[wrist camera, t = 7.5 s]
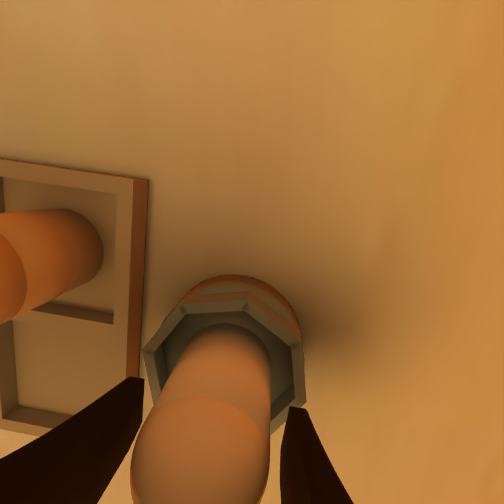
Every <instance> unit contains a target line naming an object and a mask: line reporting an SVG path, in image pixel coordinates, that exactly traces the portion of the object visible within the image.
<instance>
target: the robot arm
mask: <svg viewBox="0 0 504 504" xmlns="http://www.w3.org/2000/svg"><path fill="white" fill-rule="evenodd" d="M143 396H144V379H142V378H137V377H131V376H129V377H128V378H126V379H125V380H123V381H122V382H121V383H119V384H118V385H116V386H115V387H114V388H112V389H111V390H109V391H108V392H107V393H105V394H104V395H102V396H101V397H100V398H98V399H97V400H95V401H94V402H93V403H91V404H90V405H88V406H87V407H85V408H84V409H82V410H81V411H79V412H78V413H77V414H75V415H74V416H72V417H71V418H69V419H68V420H66V421H64V422H63V423H61V424H60V425H58V426H57V427H55V428H53V429H52V430H50V431H49V432H47V433H46V434H44V435H42V436H41V437H39V438H37V439H36V440H34V441H32V442H30V443H29V444H27V445H25V446H23V447H21V448H20V449H18V450H16V451H14V452H12V453H11V454H9V455H7V456H5V457H3V458H1V459H0V504H97V503H98V501H99V499H100V498H101V496H102V494H103V493H104V491H105V489H106V488H107V486H108V484H109V483H110V481H111V479H112V478H113V476H114V474H115V473H116V471H117V469H118V468H119V466H120V464H121V463H122V461H123V459H124V458H125V456H126V454H127V452H128V451H129V449H130V447H131V444H132V442H133V440H134V438H135V436H136V434H137V432H138V429H139V427H140V425H141V423H142V414H143ZM280 490H281V504H354V503H353V502H352V500H351V498H350V497H349V495H348V493H347V491H346V490H345V488H344V486H343V484H342V483H341V481H340V479H339V477H338V475H337V473H336V472H335V470H334V468H333V466H332V464H331V462H330V460H329V458H328V456H327V454H326V452H325V450H324V448H323V446H322V444H321V442H320V439H319V437H318V435H317V433H316V431H315V428H314V426H313V424H312V421H311V419H310V417H309V414H308V412H307V410H306V409H303V408H298V407H293V406H289V411H288V416H287V421H286V425H285V430H284V435H283V440H282V445H281V455H280Z"/></svg>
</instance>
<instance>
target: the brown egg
mask: <svg viewBox="0 0 504 504" xmlns="http://www.w3.org/2000/svg"><path fill="white" fill-rule="evenodd" d="M103 257H104V250H103V244H102V241H101V238H100V236H99V234H98V232H97V230H96V229H95V227H94V226H93V225H92V224H91V222H90V221H89V220H87V219H86V218H85V217H84V216H82V215H81V214H79V213H77V212H75V211H72V210H69V209H63V208H54V209H43V210H31V211H20V212H8V213H0V324H3V323H5V322H7V321H9V320H11V319H13V318H15V317H17V316H19V315H21V314H23V313H25V312H28V311H30V310H32V309H34V308H36V307H38V306H40V305H42V304H44V303H46V302H48V301H50V300H52V299H54V298H56V297H58V296H60V295H62V294H64V293H66V292H68V291H70V290H72V289H74V288H76V287H78V286H80V285H82V284H84V283H87V282H88V281H90V280H91V279H93V278H94V277H95V276H96V275H97V273H98V272H99V270H100V268H101V266H102V263H103Z"/></svg>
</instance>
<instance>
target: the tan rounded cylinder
mask: <svg viewBox="0 0 504 504" xmlns="http://www.w3.org/2000/svg"><path fill="white" fill-rule="evenodd" d="M270 392H271V361H270V356H269V353H268V350H267V348H266V346H265V345H264V343H263V342H262V341H261V339H260V338H259V337H258V336H257V335H255V334H254V333H253V332H251V331H250V330H248V329H246V328H244V327H241V326H239V325H235V324H228V323H220V324H214V325H210V326H207V327H205V328H203V329H201V330H199V331H198V332H197V333H195V334H194V335H193V336H192V338H191V339H190V340H189V342H188V344H187V345H186V347H185V349H184V351H183V353H182V355H181V356H180V358H179V360H178V362H177V364H176V365H175V367H174V369H173V371H172V373H171V375H170V376H169V378H168V380H167V382H166V384H165V386H164V387H163V389H162V391H161V393H160V395H159V397H158V398H157V400H156V402H155V404H154V406H153V408H152V409H151V411H150V413H149V415H148V417H147V419H146V420H145V422H144V424H143V426H142V428H141V430H140V432H139V434H138V437H137V440H136V443H135V446H134V449H133V454H132V460H131V466H130V486H131V494H132V499H133V503H134V504H260V502H261V500H262V497H263V494H264V491H265V488H266V484H267V480H268V474H269V465H270Z"/></svg>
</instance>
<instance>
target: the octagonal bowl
mask: <svg viewBox="0 0 504 504" xmlns="http://www.w3.org/2000/svg"><path fill="white" fill-rule="evenodd" d="M220 323H228V324H235V325H239V326H241V327H244V328H246V329H248V330H250V331H251V332H253V333H254V334H255V335H257V336H258V337H259V338H260V339H261V341H262V342H263V343H264V345H265V346H266V348H267V350H268V353H269V356H270V361H271V392H270V435H271V434H272V433H273V432H275V431H276V430H277V429H278V428H279V427H280V426H281V425H282V424H283V423H284V422H285V421H286V420H287V416H288V411H289V406H293V407H298V408H301V407H302V406H303V405H304V404H305V403H306V390H305V376H304V354H303V347H302V339H301V333H300V330H299V325H298V321H297V318H296V316H295V313H294V311H293V309H292V308H291V306H290V305H289V303H288V302H287V301H286V299H285V298H284V297H283V296H282V295H281V294H280V293H279V292H278V291H276V290H275V289H274V288H272V287H271V286H269V285H267V284H266V283H264V282H262V281H259V280H257V279H254V278H250V277H246V276H240V275H224V276H218V277H214V278H210V279H208V280H206V281H203V282H201V283H200V284H198V285H196V286H195V287H194V288H192V289H191V290H190V291H189V292H188V293H187V294H186V295H185V296H184V297H183V298H182V299H181V301H180V302H179V303H178V304H177V305H176V306H175V308H174V309H173V310H172V311H171V312H170V313H169V315H168V316H167V317H166V319H165V320H164V321H163V323H162V325H161V327H160V329H159V330H158V331H157V332H156V333H155V335H154V336H153V337H152V338H151V340H150V341H149V342H148V343H147V345H146V346H145V347H144V348H143V349H142V352H143V356H144V361H145V366H146V371H147V375H148V380H149V385H150V390H151V394H152V399H153V404H155V402H156V400H157V398H158V397H159V395H160V393H161V391H162V389H163V387H164V386H165V384H166V382H167V380H168V378H169V376H170V375H171V373H172V371H173V369H174V367H175V365H176V364H177V362H178V360H179V358H180V356H181V355H182V353H183V351H184V349H185V347H186V345H187V344H188V342H189V340H190V339H191V338H192V336H193V335H194V334H195V333H197V332H198V331H199V330H201V329H203V328H205V327H207V326H210V325H214V324H220Z"/></svg>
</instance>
